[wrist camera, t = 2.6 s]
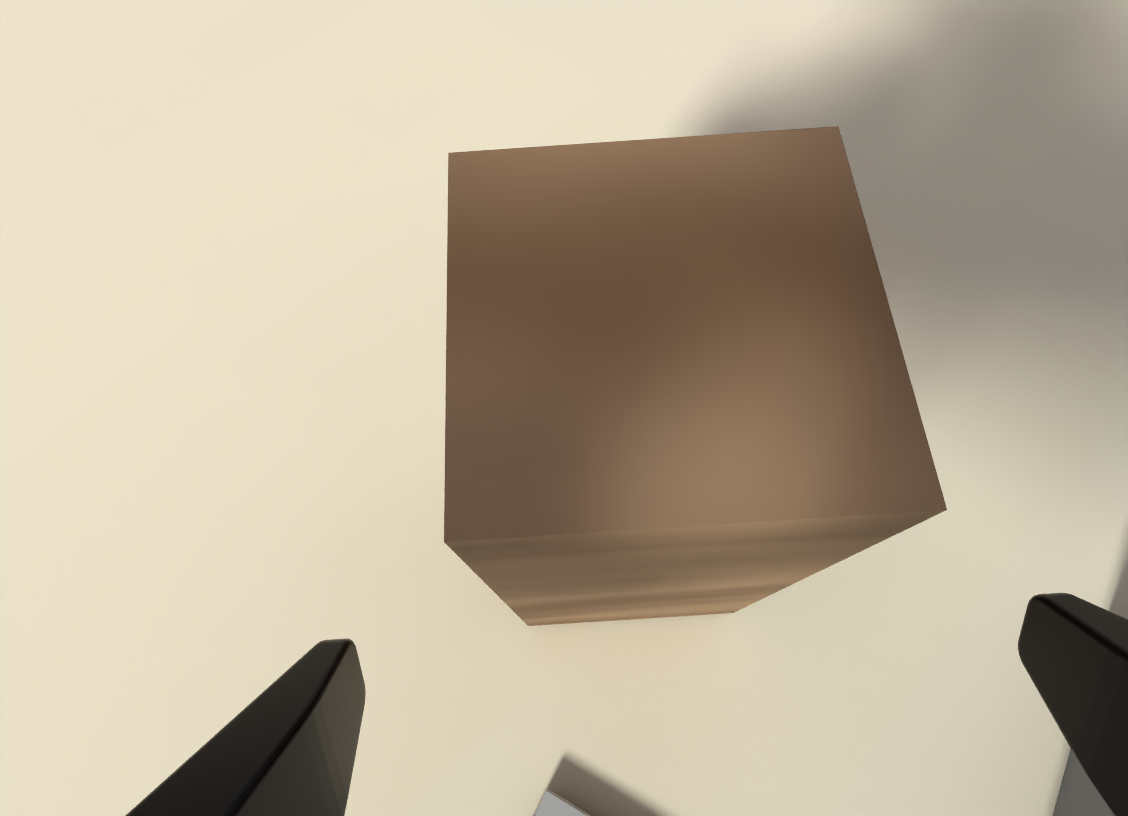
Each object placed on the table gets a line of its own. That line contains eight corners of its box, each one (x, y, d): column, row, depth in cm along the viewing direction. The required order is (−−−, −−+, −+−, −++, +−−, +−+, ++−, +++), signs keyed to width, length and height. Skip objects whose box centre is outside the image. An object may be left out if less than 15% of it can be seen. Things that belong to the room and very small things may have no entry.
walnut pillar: (733, 612, 19) (946, 508, 8) (528, 625, 20) (444, 542, 8) (704, 422, 22) (838, 127, 10) (521, 433, 22) (448, 152, 10)
